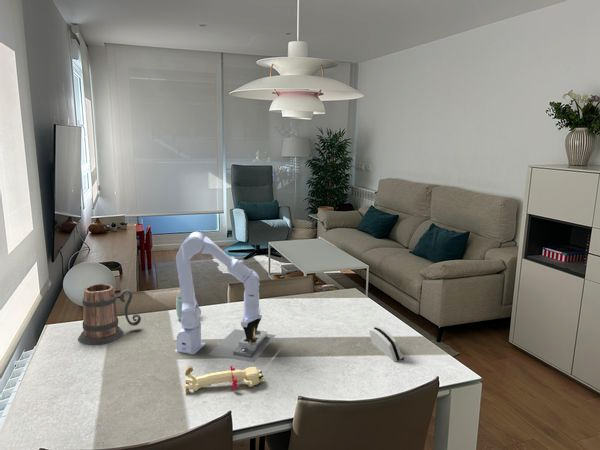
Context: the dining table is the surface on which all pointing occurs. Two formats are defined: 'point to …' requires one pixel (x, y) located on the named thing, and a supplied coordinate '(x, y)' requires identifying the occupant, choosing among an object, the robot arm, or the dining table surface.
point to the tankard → (103, 315)
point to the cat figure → (224, 378)
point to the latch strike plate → (250, 344)
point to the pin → (253, 338)
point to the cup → (179, 306)
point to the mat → (232, 343)
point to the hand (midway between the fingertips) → (251, 337)
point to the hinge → (386, 343)
